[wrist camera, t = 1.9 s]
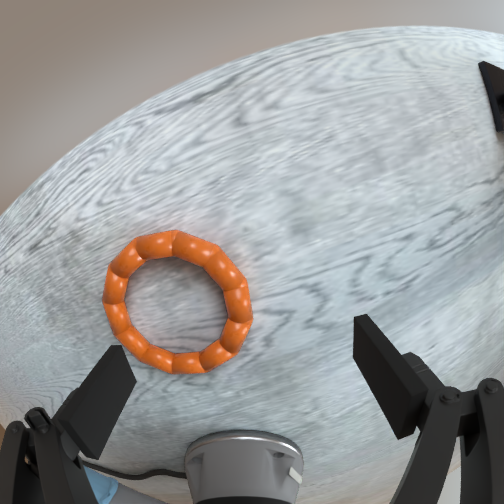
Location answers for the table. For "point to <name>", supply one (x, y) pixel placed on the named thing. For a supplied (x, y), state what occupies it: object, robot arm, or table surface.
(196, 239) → the ring
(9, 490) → the robot arm
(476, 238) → the table surface
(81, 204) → the table surface
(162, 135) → the table surface
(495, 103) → the peg stand
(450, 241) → the table surface
